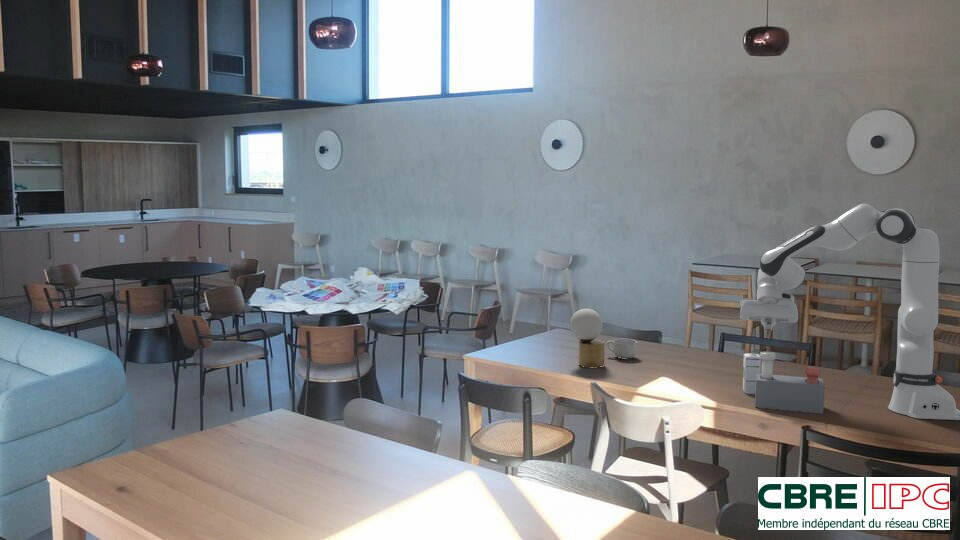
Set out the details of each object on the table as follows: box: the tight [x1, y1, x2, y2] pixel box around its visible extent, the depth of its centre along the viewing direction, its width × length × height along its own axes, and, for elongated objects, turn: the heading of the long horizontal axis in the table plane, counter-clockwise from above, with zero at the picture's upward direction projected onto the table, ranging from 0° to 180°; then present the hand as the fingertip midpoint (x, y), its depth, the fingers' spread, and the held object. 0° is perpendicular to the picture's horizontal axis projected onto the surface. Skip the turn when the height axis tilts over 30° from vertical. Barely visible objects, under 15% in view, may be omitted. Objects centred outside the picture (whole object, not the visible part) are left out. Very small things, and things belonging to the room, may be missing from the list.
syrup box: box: [742, 352, 762, 395], centre depth 289 cm, size 6×6×14 cm
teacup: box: [605, 337, 638, 359], centre depth 348 cm, size 14×11×8 cm
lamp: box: [569, 308, 606, 368], centre depth 332 cm, size 15×14×25 cm
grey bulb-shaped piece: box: [759, 350, 777, 379], centre depth 272 cm, size 5×5×14 cm
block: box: [754, 373, 826, 415], centre depth 271 cm, size 22×10×10 cm, turn 70°
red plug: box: [804, 366, 822, 383], centre depth 268 cm, size 5×5×14 cm
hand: (768, 329), depth 278 cm, fingers closed
